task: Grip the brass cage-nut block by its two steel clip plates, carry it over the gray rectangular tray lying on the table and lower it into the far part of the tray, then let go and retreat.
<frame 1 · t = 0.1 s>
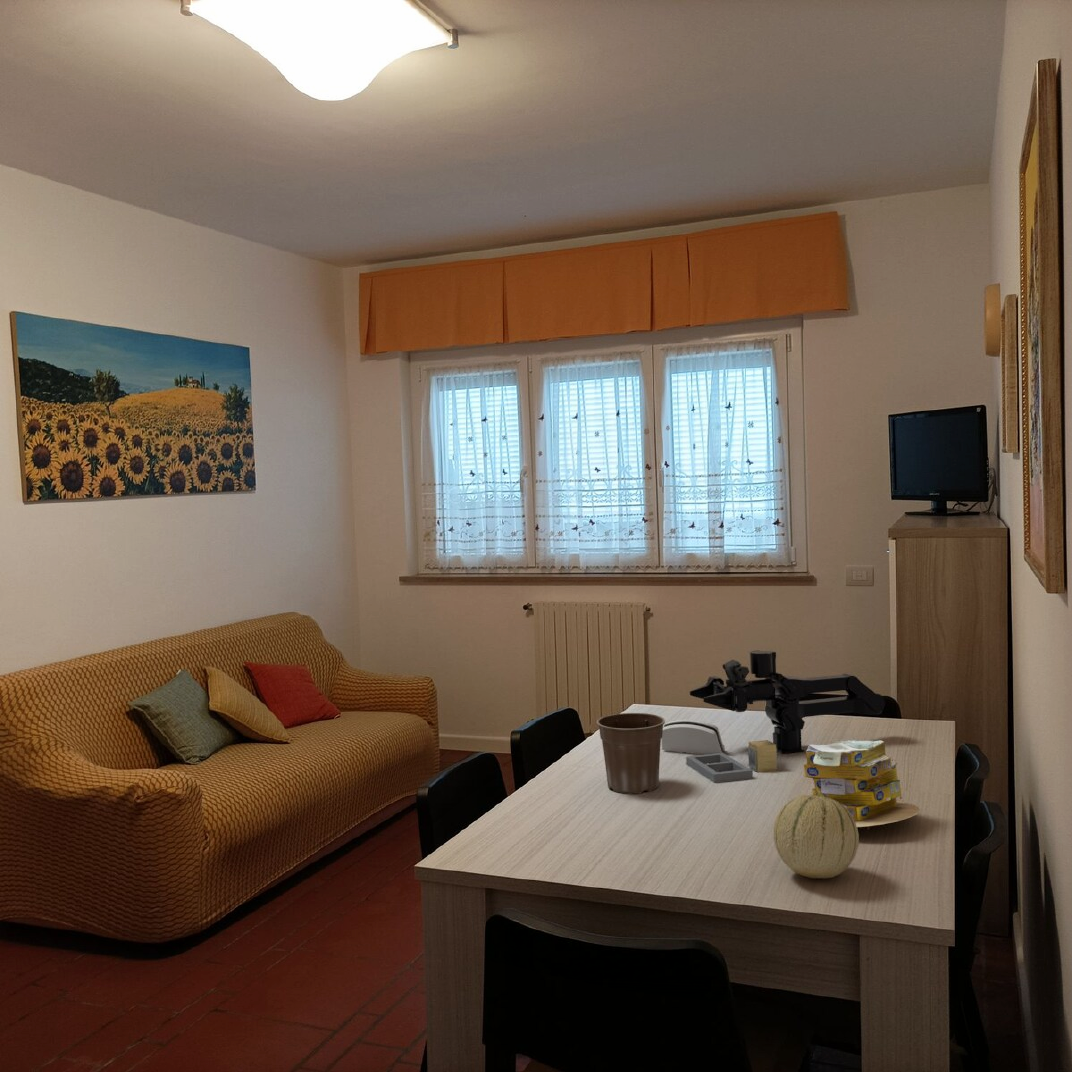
hand: (696, 696, 266), 17 cm above the table, tool horizontal, fingers open, 9 cm apart
cage nut: (762, 769, 256), on the table
stacked yellow boxes: (856, 823, 213), on the table
gray rectangular tray: (718, 771, 255), on the table
cantaloupe: (817, 877, 184), on the table
plant pot: (633, 787, 245), on the table
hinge: (692, 753, 275), on the table
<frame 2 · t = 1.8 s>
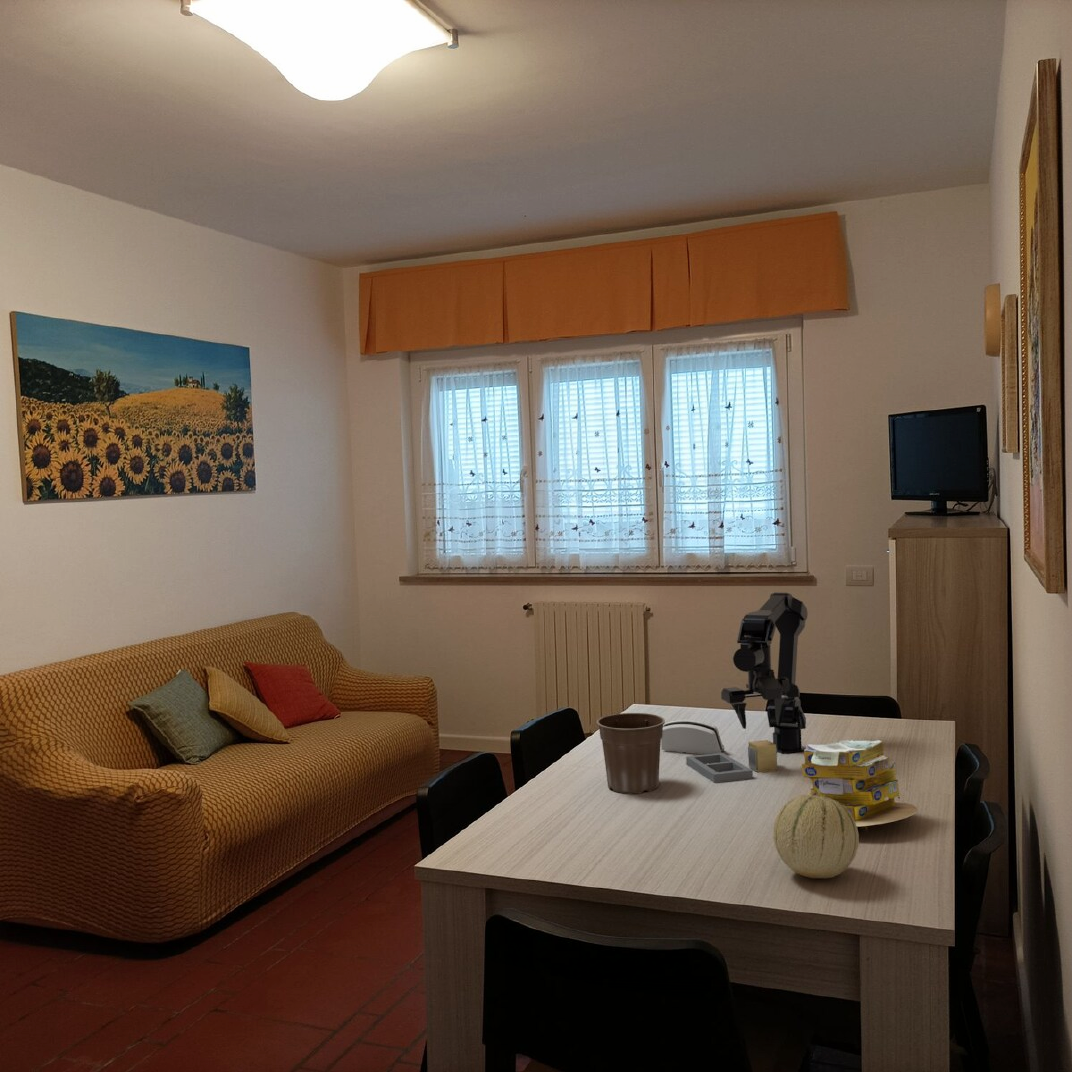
hand: (761, 726, 255), 11 cm above the table, tool pointing down, fingers open, 9 cm apart
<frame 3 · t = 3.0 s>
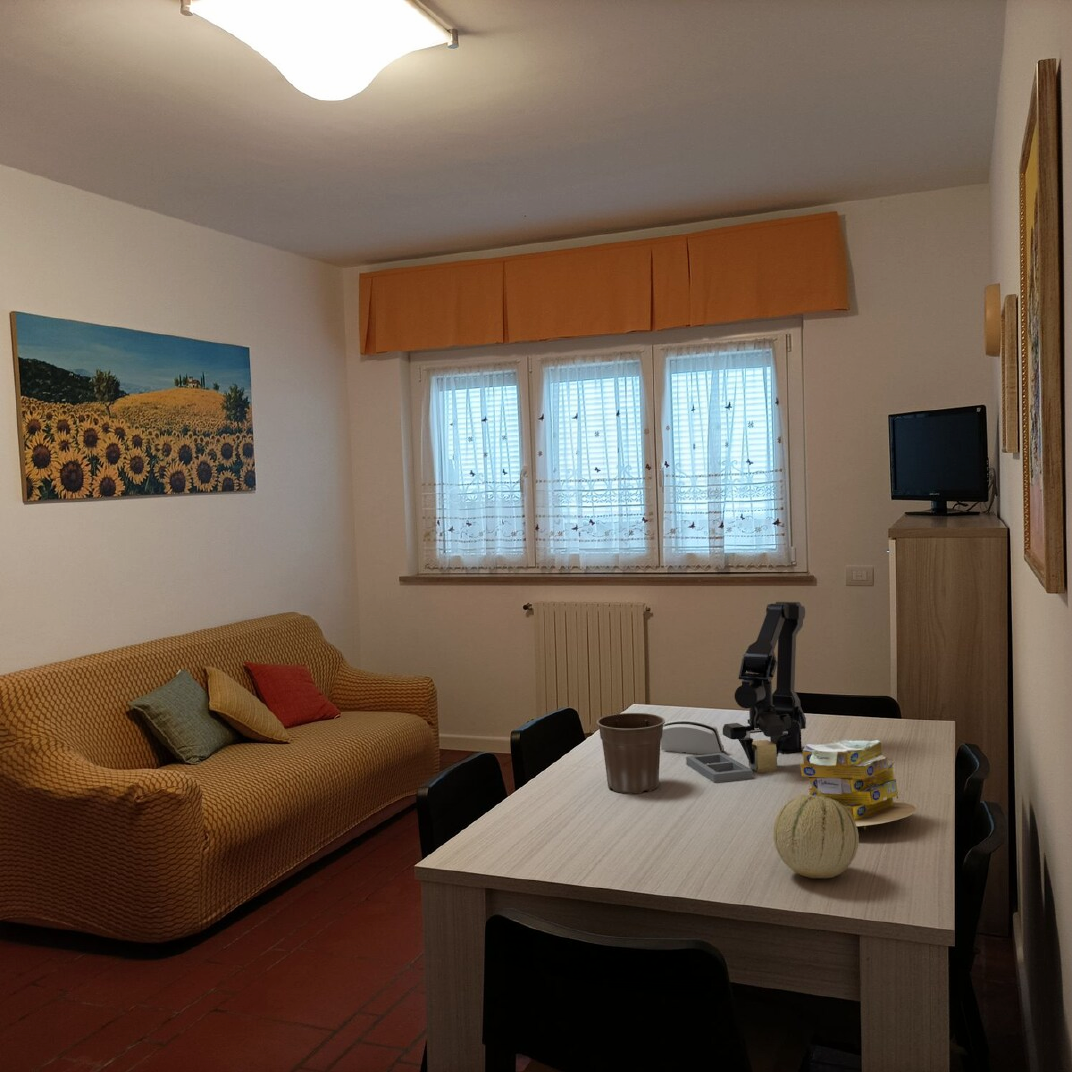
hand: (762, 762, 256), 2 cm above the table, tool pointing down, fingers closed on cage nut, 6 cm apart
cage nut: (762, 768, 256), on the table, touching gripper
everything else where it was.
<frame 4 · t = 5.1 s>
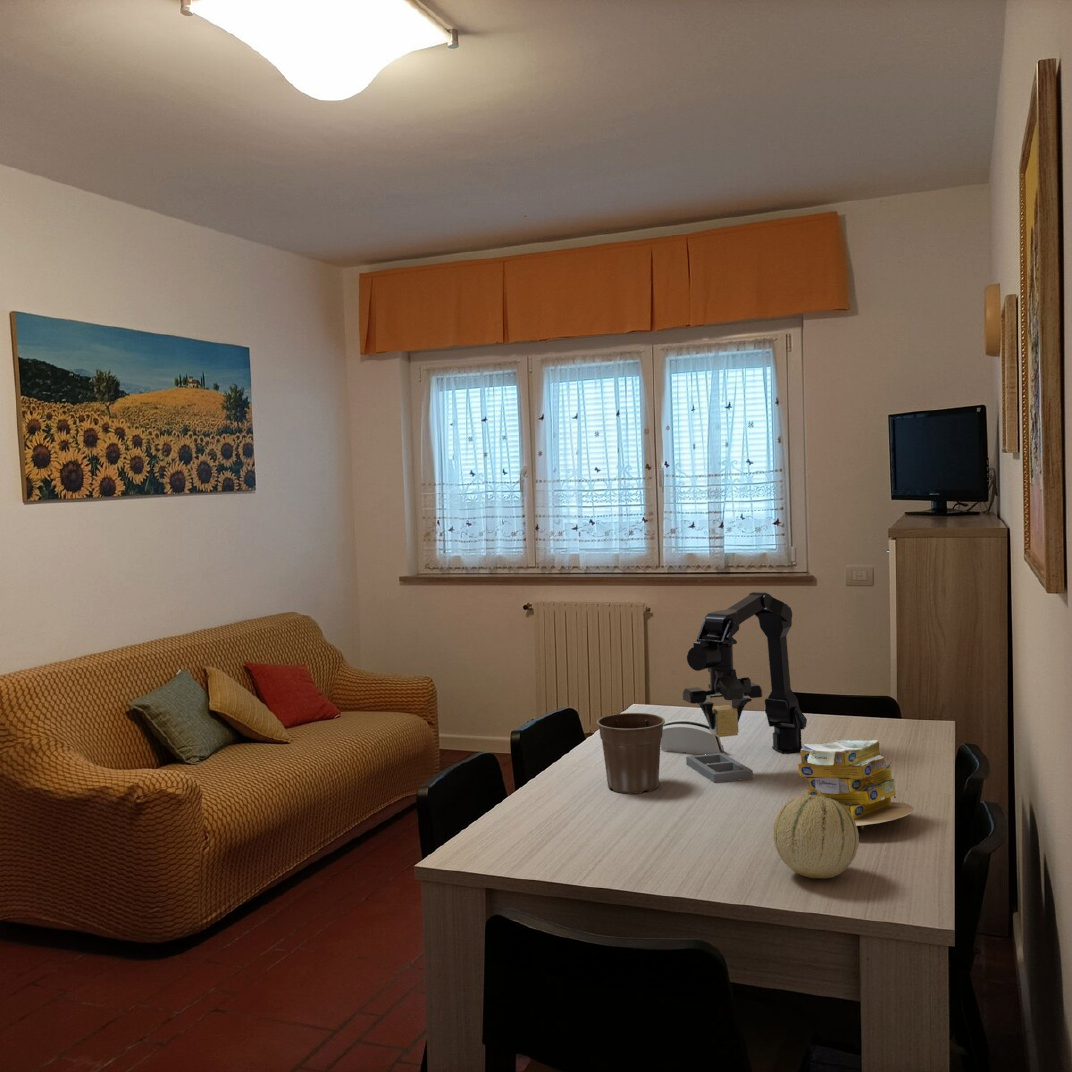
hand: (723, 727, 251), 12 cm above the table, tool pointing down, fingers closed on cage nut, 6 cm apart
cage nut: (724, 734, 251), point 10 cm above the table, touching gripper
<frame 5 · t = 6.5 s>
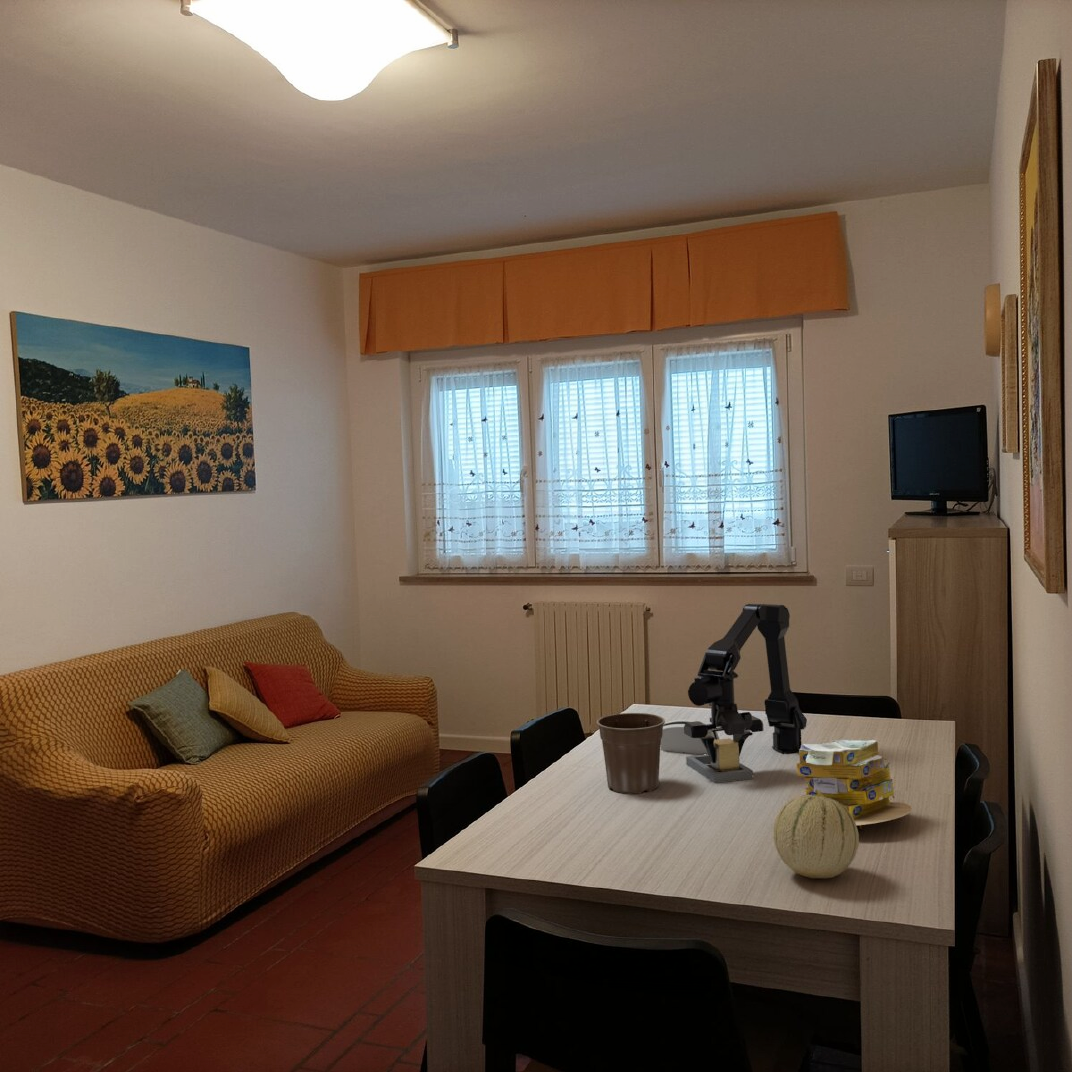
hand: (724, 761, 251), 3 cm above the table, tool pointing down, fingers closed on cage nut, 6 cm apart
cage nut: (725, 767, 251), point 2 cm above the table, touching gripper
when the fingers open (3 cm above the table, at t = 7.5 s): cage nut drops 2 cm, resting in gray rectangular tray.
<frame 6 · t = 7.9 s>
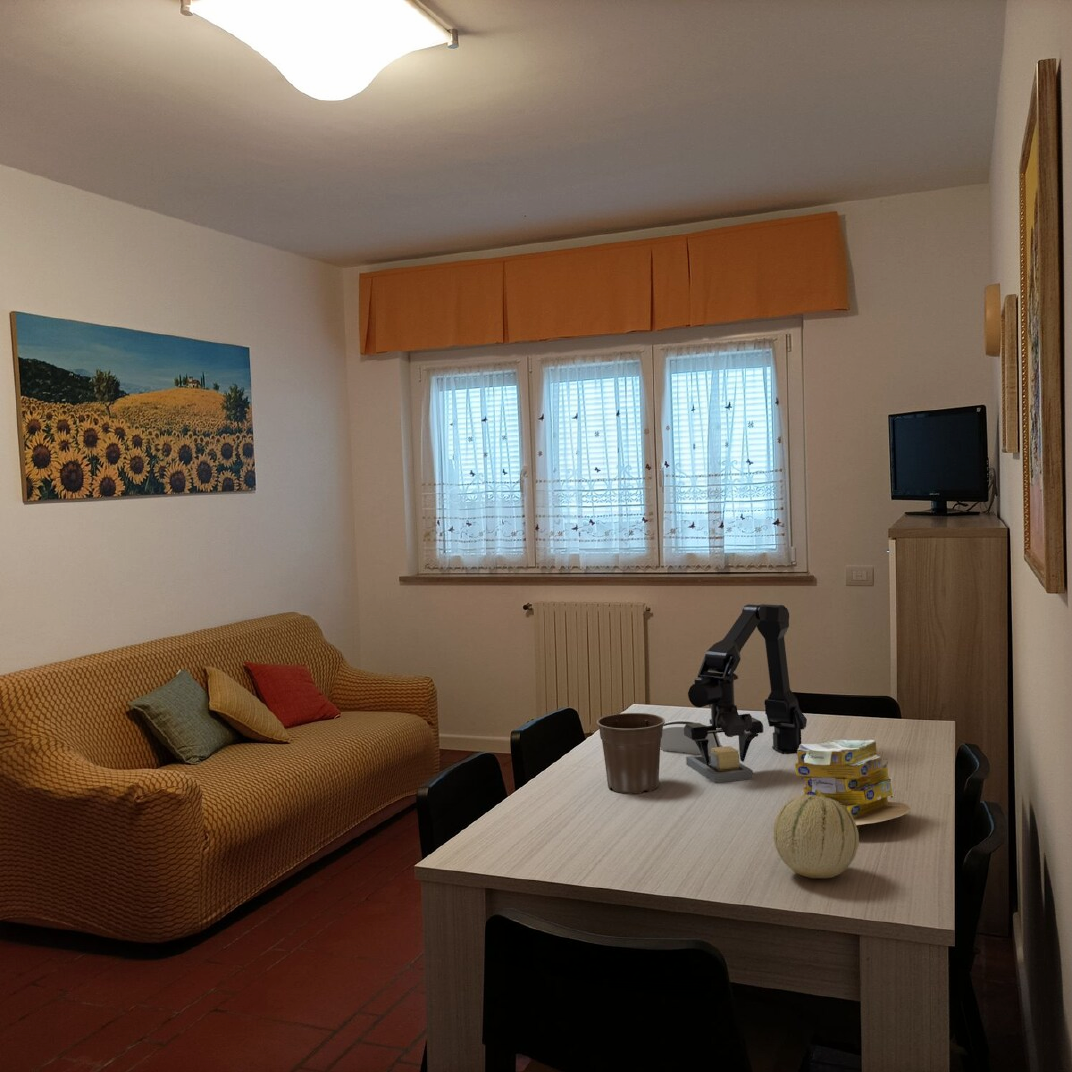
hand: (724, 763, 251), 3 cm above the table, tool pointing down, fingers open, 9 cm apart
cage nut: (725, 775, 251), resting in gray rectangular tray
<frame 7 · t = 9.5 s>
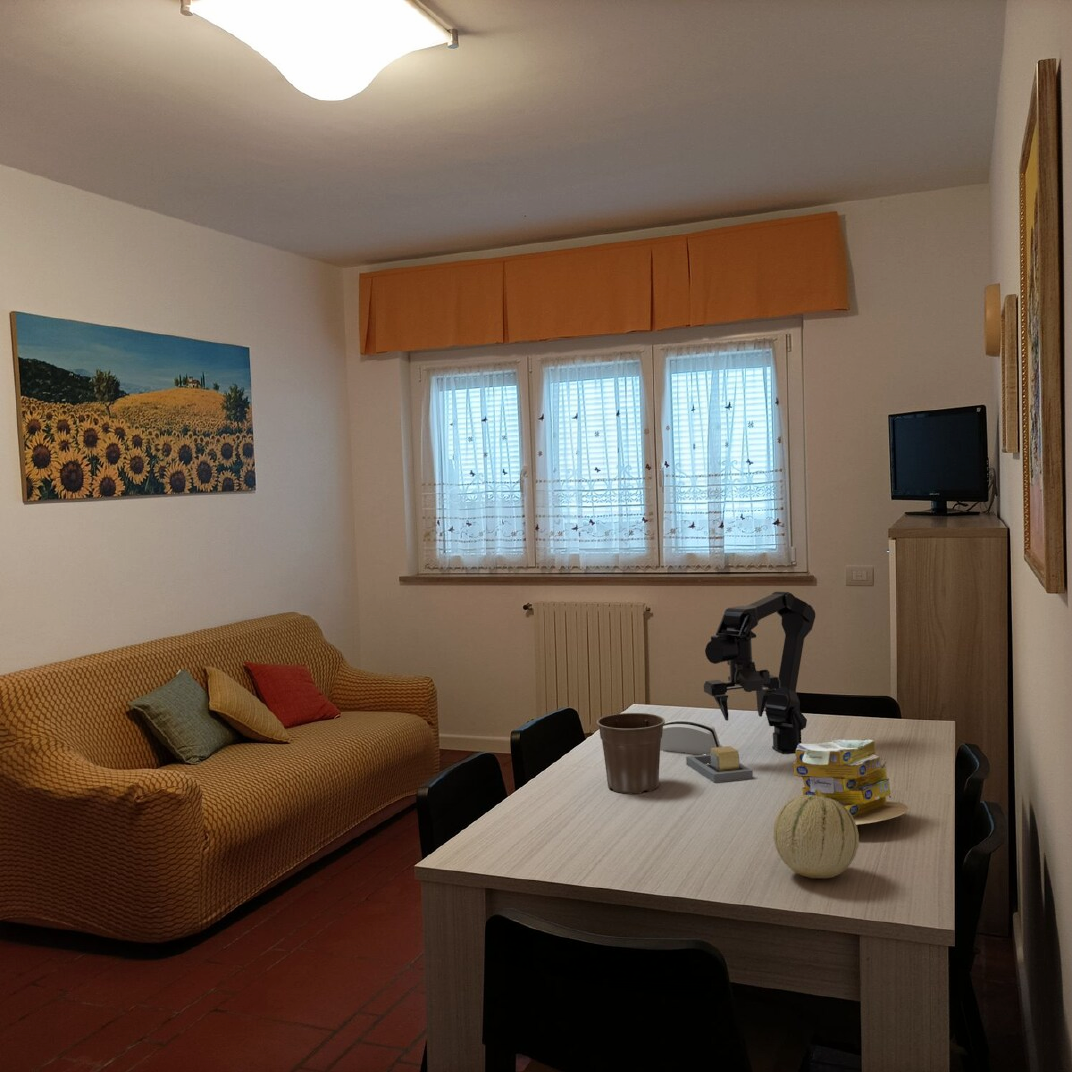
hand: (743, 718, 260), 12 cm above the table, tool pointing down, fingers open, 9 cm apart
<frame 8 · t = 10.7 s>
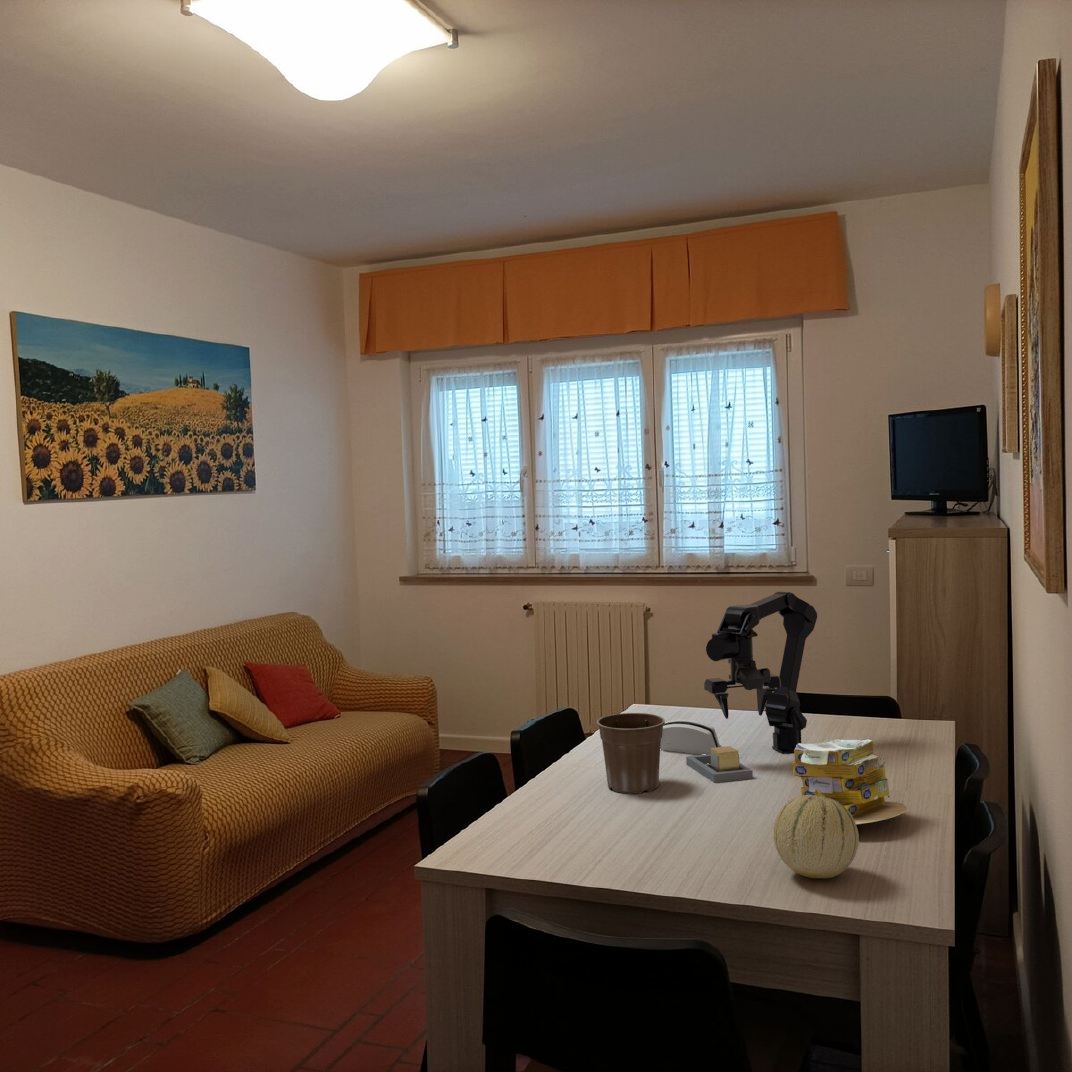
hand: (743, 716, 260), 12 cm above the table, tool pointing down, fingers open, 9 cm apart
at the end: cage nut 0.1 cm from the target spot on the gray rectangular tray, point 0.0 cm above the gray rectangular tray's base; cage nut tilted 0°; the gripper is holding nothing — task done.
